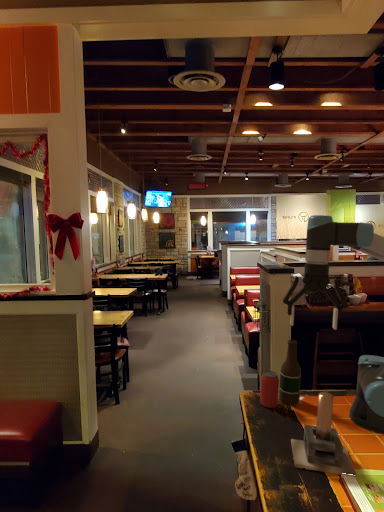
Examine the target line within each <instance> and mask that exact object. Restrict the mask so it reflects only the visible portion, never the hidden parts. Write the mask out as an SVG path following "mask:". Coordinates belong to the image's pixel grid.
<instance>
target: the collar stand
mask: <svg viewBox="0 0 384 512" xmlns="http://www.w3.org/2000/svg"><path fill="white" fill-rule="evenodd" d="M303 428H304V429H303V440H302V439H295V438H291V439H290V444H291V450H292V451H291V452H292V457H293V462H294V467H295V468H298V469H303V468H305V469H304V470H310V471H311V470H312V471H318V472H322V473H323V472H324V473H330V474H336V475H337V474H338V475H342V473H346V474H353V475H356V476H357V471H356V469H355V467H354V465H353V462H352V459H351V457H350V455H349V451H348V450H347V448H346V446H345V445H343V444H342V440H341V438H340V435H339V433H338V431H337V429H336V428H335V427H334V428H333V427H331V436H330V441H325V440H318V439H315V438H316V425H310V424H304V427H303ZM315 450H320V451H327V452H329V455H328V454H321V453H315Z"/></svg>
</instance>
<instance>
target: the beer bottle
mask: <svg viewBox="0 0 384 512" xmlns="http://www.w3.org/2000/svg"><path fill="white" fill-rule="evenodd" d="M298 343H299V342H298V341H297V340H295V339H288V341H287V352H286V358H285V360H284V362H283V364H282V365H281V368H280V374H279V388H278V400H279V401H280V402H281V403H282V404H285V405H288V406H295V405H298V403H299V402H300V394H301V380H302V368H301V366H300V364H299V362H298V358H297V357H298V355H297V354H298V353H297V351H298V350H297V349H298V348H297V347H298V346H297V345H298Z"/></svg>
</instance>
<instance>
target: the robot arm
mask: <svg viewBox="0 0 384 512" xmlns="http://www.w3.org/2000/svg"><path fill="white" fill-rule="evenodd" d="M305 241H306V243H305V244H306V245H305V256H304V257H305V262H306V263H304V271H303V272H304V273H303V277H301V276H297V275H295V276H294V277H293V282H292V283H291V285H290V287H288V288H289V289H288V290H287V292H286V293H285V295H284V296H283V299H282V302H283V304H284V305H287V316H290V318H289V319H290V321H289V324H290V325H289V326H291V327H293V326H294V322H295V321H294V320H295V305H294V304H295V303H297V301H298V300H299V299H300V298H301V297H303V295H305V293H307V292H308V291H310V292H319V293H320V292H322V291H323V292H324V293H325V294H326V296H327V297H328V299H329V300H330V301H331V302H332V303H333V305H334V306H335V307H334V308H333V311H332V312H333V313H332V328H333V330H338V320H340V319H341V318H342V310H343V309H348V307H349V305H348V303H347V301H346V299H345V295H344V294H343V292H342V290H341V287H340V282H339V281H340V280H339V279H338V278H336V277H335V278H329V277H330V276H329V275H330V273H329V272H330V264H329V263H330V261H331V260H330V259H331V258H330V257H331V246H341V247H349V248H351V249H353V250H356V251H359V252H362V253H364V254H366V255H367V256H371V257H374V258H376V259H378V260H380V261H382V262H384V236H382V235H380V234H377V233H375V231H374V226H373V224H372V223H367V222H339V221H338V222H337V221H334V219H333V216H332V215H324V214H322V215H321V214H320V215H318V214H317V215H314V214H313V215H310V216H309V217H308V220H307V227H306V240H305ZM301 282H303V284H304V285H303V286H302V287H301V289H299V291H297V293H295V294H294V295H293V293H294V291H295V290H296V288H297V286H298V284H300V283H301ZM329 284H331V285H332V286H333V288H334V291H335V292H336V294H337V296H338V297H337V298H338V299H339V301H340V303H339V301H338V300H337V299H336V298H335V296H334V295H333V294H332V293H331V291H330V290H329V289H328V288H327V287H328V285H329ZM292 295H293V296H292ZM291 296H292V297H291ZM357 365H358V366H357V379H356V393H355V398H354V399H353V401H352V403H351V406H350V408H349V414H348V416H349V418H350V421H352V422H353V423H354V424H356V425H357V426H359V427H361V428H362V429H366V430H367V431H371V432H375V433H383V434H384V356H383V357H382V356H379V355H373V354H371V355H370V354H363V355H361V356H360V357H359V358H358V362H357Z"/></svg>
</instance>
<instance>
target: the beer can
mask: <svg viewBox="0 0 384 512" xmlns="http://www.w3.org/2000/svg"><path fill="white" fill-rule="evenodd" d="M279 388H280V377H279V376H278V373H277V372H276V371H272V370H264V371H263V372H262V376H261V378H260V394H259V395H260V396H259V397H260V398H259V403H260V404H261V405H262V406H263V407H265V408H269V409H273V408H275V407H277V406H278V404H279V403H278V402H279V401H278V400H279Z"/></svg>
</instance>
